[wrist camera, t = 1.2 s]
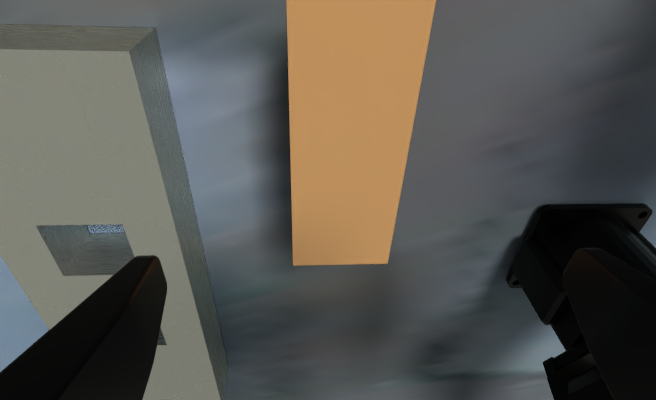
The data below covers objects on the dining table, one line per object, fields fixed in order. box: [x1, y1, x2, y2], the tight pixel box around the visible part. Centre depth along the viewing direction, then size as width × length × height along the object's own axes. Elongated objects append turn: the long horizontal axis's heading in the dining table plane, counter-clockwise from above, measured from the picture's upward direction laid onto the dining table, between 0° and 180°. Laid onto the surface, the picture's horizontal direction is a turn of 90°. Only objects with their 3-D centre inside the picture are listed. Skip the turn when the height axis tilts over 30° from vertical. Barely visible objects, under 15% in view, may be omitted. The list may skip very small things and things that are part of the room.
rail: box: [0, 24, 228, 400], centre depth 21 cm, size 8×24×3 cm, turn 178°
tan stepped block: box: [287, 0, 436, 266], centre depth 14 cm, size 4×9×6 cm, turn 178°
